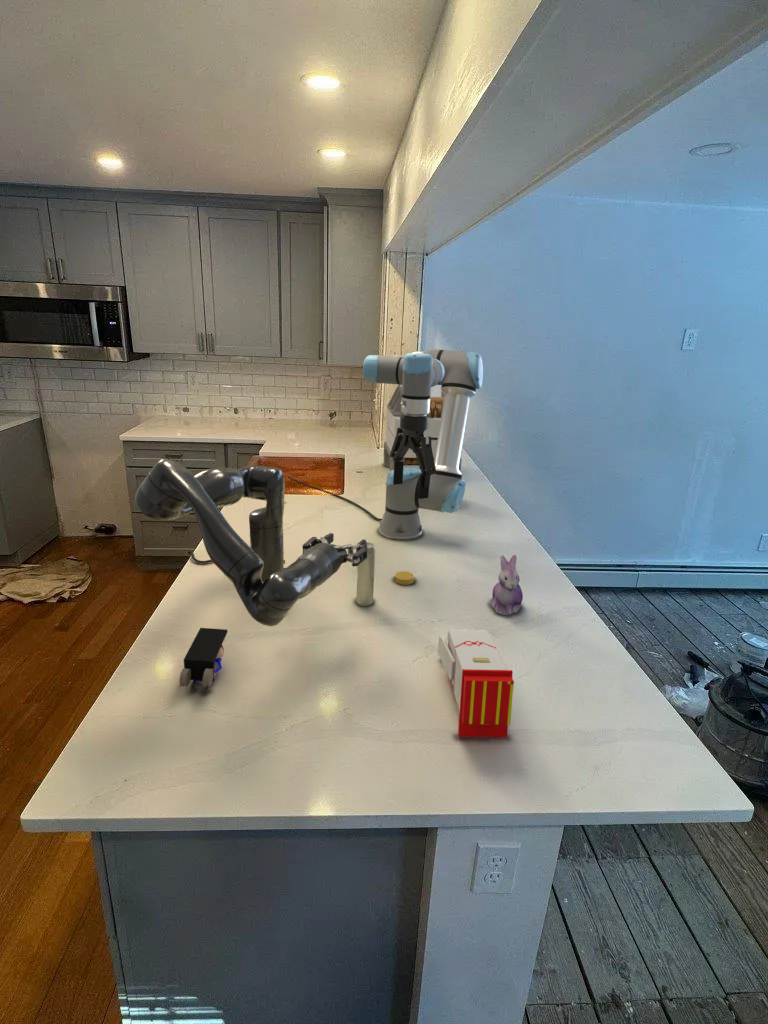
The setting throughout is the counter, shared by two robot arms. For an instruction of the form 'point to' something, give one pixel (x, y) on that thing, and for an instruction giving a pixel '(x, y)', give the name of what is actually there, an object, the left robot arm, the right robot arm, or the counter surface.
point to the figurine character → (203, 658)
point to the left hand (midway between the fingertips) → (348, 540)
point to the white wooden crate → (394, 423)
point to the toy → (478, 682)
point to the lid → (404, 578)
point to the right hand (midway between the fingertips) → (410, 490)
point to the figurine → (507, 588)
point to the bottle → (366, 578)
